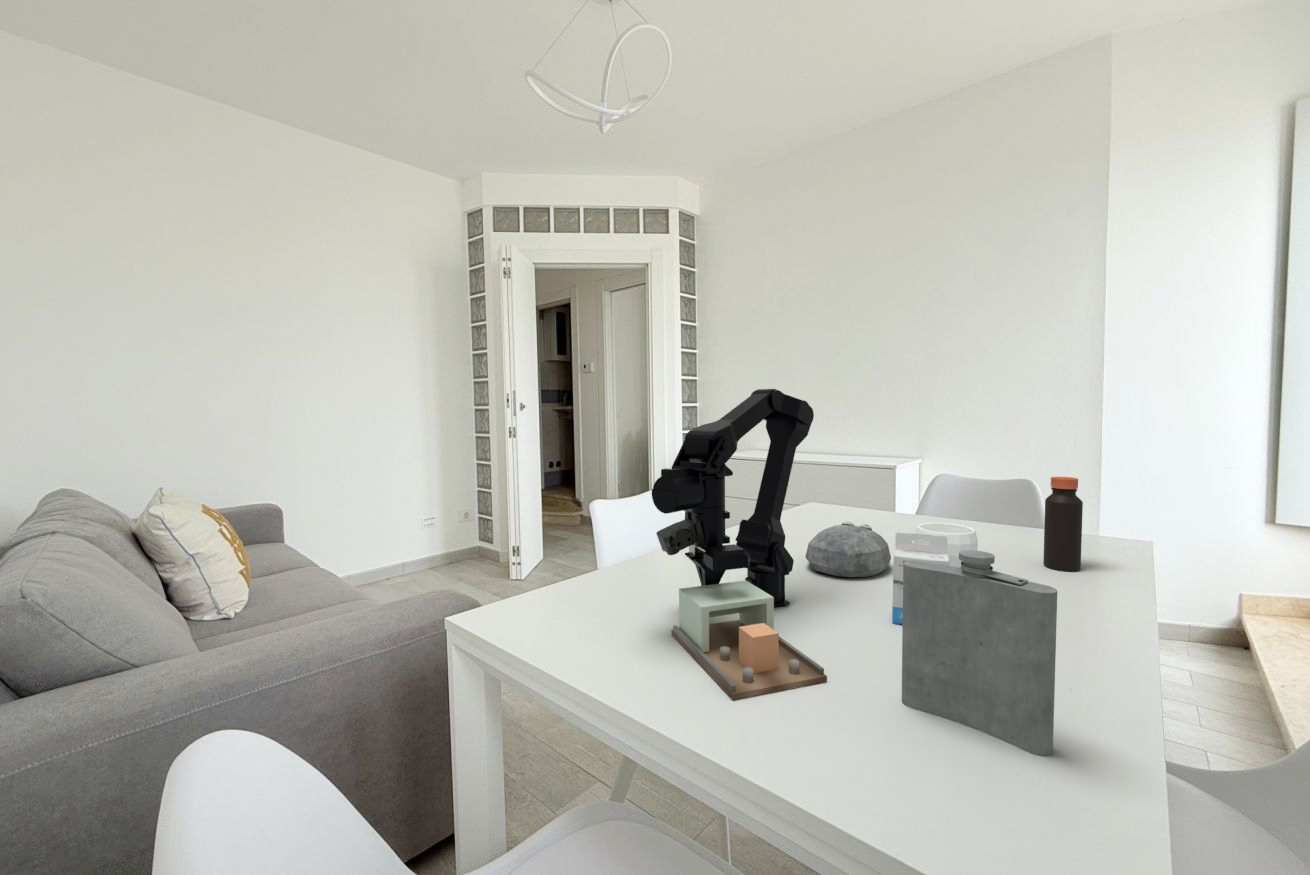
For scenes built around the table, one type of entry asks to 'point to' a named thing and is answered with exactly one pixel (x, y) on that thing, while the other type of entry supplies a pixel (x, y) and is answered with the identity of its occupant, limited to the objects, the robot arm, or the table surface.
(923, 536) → the ink box
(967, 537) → the cup
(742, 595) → the housing
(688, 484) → the robot arm
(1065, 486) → the bottle
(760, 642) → the block
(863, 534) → the decorative stone
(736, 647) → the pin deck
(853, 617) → the table surface
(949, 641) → the hip flask
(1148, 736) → the table surface
